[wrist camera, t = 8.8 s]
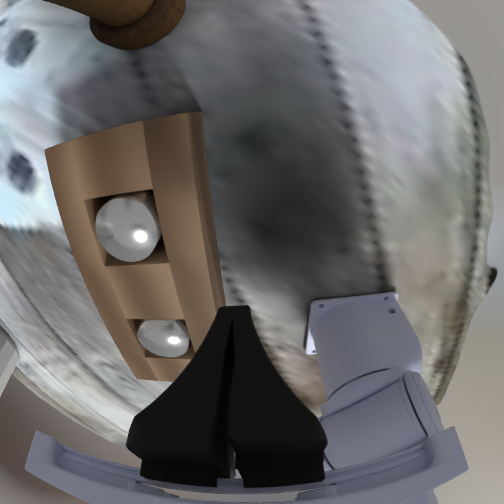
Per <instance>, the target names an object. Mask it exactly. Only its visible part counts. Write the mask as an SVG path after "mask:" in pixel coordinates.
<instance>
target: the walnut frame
mask: <svg viewBox="0 0 504 504" xmlns="http://www.w3.org/2000/svg"><path fill="white" fill-rule="evenodd" d="M45 156H46V161H47V166H48V170H49V175H50V179H51V183H52V187H53V191H54V195H55V199H56V203H57V206H58V210H59V213H60V216H61V220H62V223H63V226H64V229H65V232H66V235H67V238H68V241H69V243H70V246H71V249H72V252H73V254H74V257H75V260H76V262H77V265H78V267H79V270H80V272H81V274H82V277H83V279H84V282H85V284H86V286H87V288H88V291H89V293H90V295H91V297H92V299H93V301H94V304H95V306H96V308H97V310H98V312H99V314H100V316H101V318H102V320H103V322H104V324H105V326H106V327H107V329H108V331H109V333H110V335H111V337H112V339H113V340H114V342H115V344H116V346H117V347H118V349H119V351H120V353H121V354H122V356H123V358H124V359H125V361H126V363H127V364H128V366H129V367H130V369H131V371H132V372H133V374H134V375H135V377H136V378H137V379H144V380H155V381H169V382H174V381H175V379H176V378H177V377H178V376H179V375H180V374H181V372H182V371H183V370H184V369H185V367H186V366H187V365H188V363H189V362H190V361H191V359H192V358H193V356H194V355H195V353H196V351H197V350H198V348H199V347H200V345H201V344H202V342H203V340H204V338H205V336H206V335H207V333H208V331H209V329H210V327H211V325H212V323H213V321H214V318H215V316H216V314H217V311H218V308H219V307H221V306H226V302H225V296H224V289H223V283H222V276H221V269H220V262H219V255H218V248H217V240H216V233H215V225H214V217H213V210H212V201H211V193H210V185H209V176H208V167H207V157H206V148H205V138H204V127H203V117H202V111H197V112H188V113H181V114H175V115H169V116H163V117H158V118H153V119H148V120H143V121H138V122H134V123H129V124H125V125H121V126H117V127H113V128H109V129H106V130H102V131H98V132H95V133H92V134H88V135H85V136H82V137H79V138H76V139H73V140H70V141H67V142H64V143H61V144H58V145H55V146H53V147H50V148H47V149H45ZM148 189H153V192H154V197H155V202H156V207H157V212H158V217H159V222H160V227H161V231H162V236H161V237H160V239H159V241H158V243H157V244H156V246H155V248H154V250H153V251H152V253H151V254H150V255H149V256H148V257H146V258H145V259H143V260H140V261H136V262H127V261H123V260H120V259H117V258H115V257H114V256H112V255H111V254H110V253H108V252H107V251H106V250H105V249H104V247H103V246H102V245H101V243H100V241H99V239H98V237H97V233H96V228H95V223H96V217H97V214H98V212H99V210H100V209H101V208H102V206H104V205H105V204H106V203H107V202H108V201H109V200H111V199H112V198H113V197H114V196H115V195H117V194H121V193H127V192H134V191H141V190H148ZM142 319H185V322H186V326H187V329H188V332H189V335H190V340H189V345H188V349H187V351H186V352H185V353H184V354H183V355H181V356H178V357H163V356H159V355H156V354H154V353H152V352H150V351H148V350H147V349H146V348H145V347H144V346H143V345H142V344H141V343H140V341H139V339H138V330H139V327H140V325H141V322H142Z"/></svg>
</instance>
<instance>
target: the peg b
mask: <svg viewBox="0 0 504 504" xmlns="http://www.w3.org/2000/svg"><path fill="white" fill-rule="evenodd" d="M138 339H139V341H140V343H141V344H142V345H143V346H144V347H145V348H146V349H147V350H148V351H150V352H152V353H154V354H156V355H159V356H163V357H178V356H181V355H183V354H184V353H185V352H186V351H187V349H188V345H189V340H190V335H189V332H188V329H187V326H186V322H185V319H142V322H141V325H140V327H139V330H138Z"/></svg>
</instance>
